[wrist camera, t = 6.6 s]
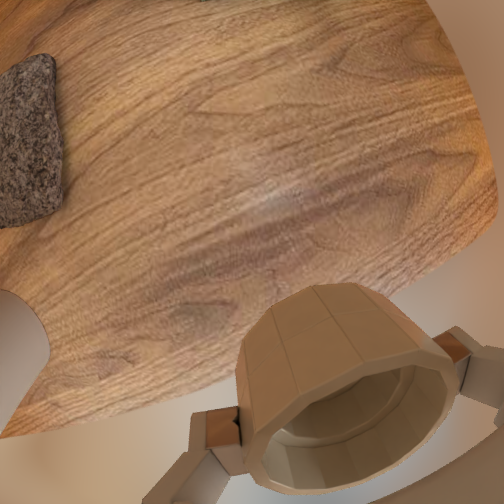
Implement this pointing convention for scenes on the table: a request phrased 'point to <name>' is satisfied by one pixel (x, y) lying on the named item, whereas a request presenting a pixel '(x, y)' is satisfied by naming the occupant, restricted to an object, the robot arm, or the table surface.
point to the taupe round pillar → (19, 352)
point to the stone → (29, 142)
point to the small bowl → (337, 390)
